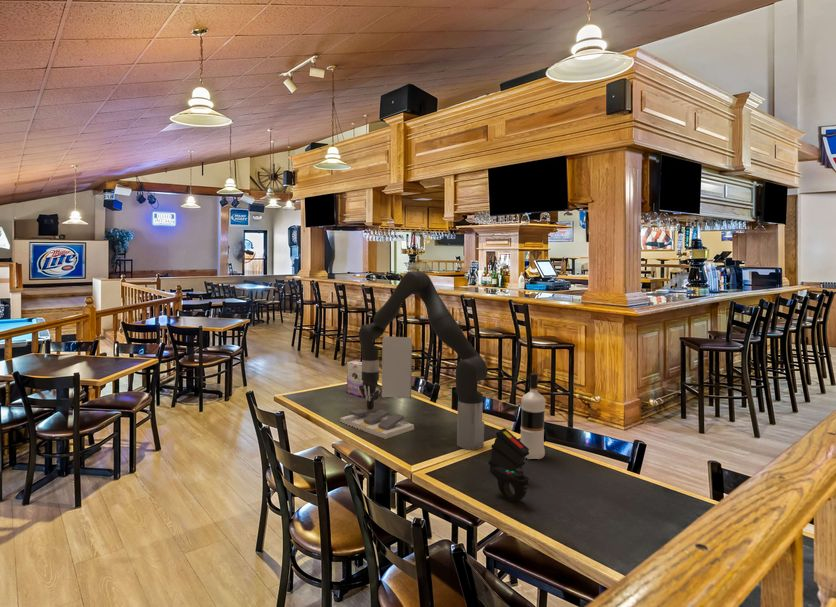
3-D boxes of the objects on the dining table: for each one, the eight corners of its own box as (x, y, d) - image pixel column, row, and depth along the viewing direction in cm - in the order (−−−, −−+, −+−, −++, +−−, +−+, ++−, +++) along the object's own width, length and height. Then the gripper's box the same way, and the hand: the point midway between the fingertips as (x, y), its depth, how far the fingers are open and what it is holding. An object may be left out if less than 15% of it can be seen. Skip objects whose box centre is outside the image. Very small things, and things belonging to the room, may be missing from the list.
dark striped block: (487, 461, 176) (504, 427, 170) (516, 488, 168) (535, 453, 162) (481, 464, 173) (497, 429, 168) (509, 492, 166) (528, 456, 160)
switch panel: (413, 429, 212) (414, 423, 212) (385, 438, 201) (385, 432, 200) (368, 414, 231) (368, 408, 231) (340, 422, 220) (340, 416, 219)
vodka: (512, 453, 187) (515, 372, 185) (531, 449, 192) (534, 369, 190) (531, 462, 180) (534, 377, 177) (550, 457, 185) (553, 374, 182)
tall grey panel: (411, 395, 264) (412, 337, 261) (409, 398, 258) (410, 339, 256) (383, 394, 265) (384, 336, 263) (381, 397, 260) (382, 338, 257)
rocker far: (375, 412, 224) (375, 409, 224) (357, 416, 216) (357, 413, 216) (367, 410, 227) (367, 407, 227) (349, 413, 220) (349, 411, 220)
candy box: (372, 396, 262) (372, 364, 261) (363, 398, 258) (364, 365, 257) (355, 390, 272) (355, 360, 270) (346, 392, 267) (346, 361, 266)
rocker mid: (389, 414, 217) (388, 411, 217) (371, 424, 210) (371, 421, 210) (381, 411, 221) (380, 409, 220) (363, 421, 214) (363, 418, 214)
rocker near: (404, 418, 211) (403, 415, 211) (386, 430, 204) (386, 427, 204) (395, 415, 215) (395, 413, 214) (378, 427, 208) (377, 424, 207)
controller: (520, 508, 146) (522, 474, 145) (488, 492, 156) (489, 460, 155) (530, 504, 149) (531, 470, 148) (498, 489, 159) (499, 457, 158)
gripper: (387, 370, 221) (386, 410, 223) (366, 365, 230) (366, 403, 232) (374, 373, 216) (373, 414, 218) (353, 368, 225) (353, 407, 227)
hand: (370, 408), depth 225 cm, fingers closed
